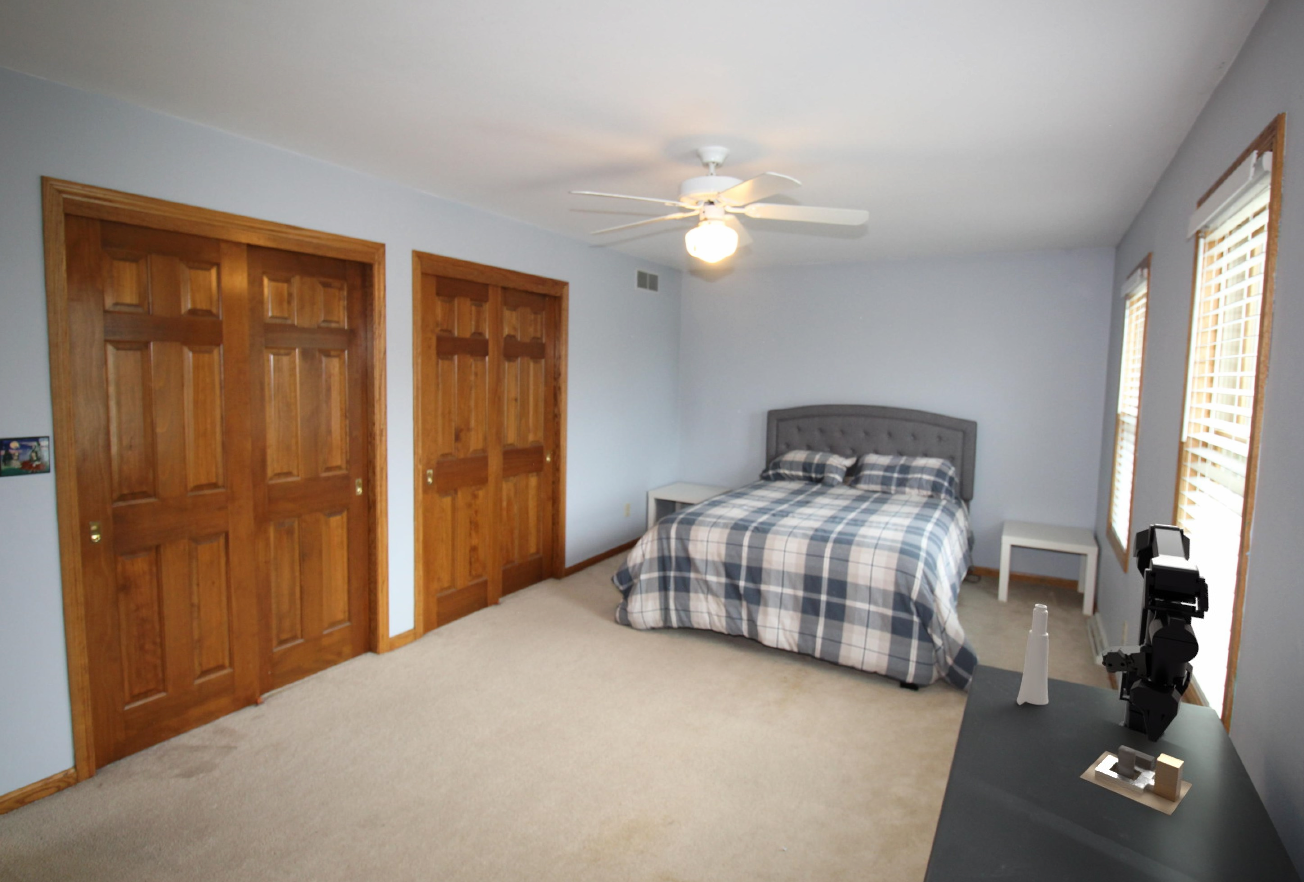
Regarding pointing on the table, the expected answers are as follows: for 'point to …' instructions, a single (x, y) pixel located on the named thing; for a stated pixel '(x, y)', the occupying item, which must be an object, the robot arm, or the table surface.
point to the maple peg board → (1134, 778)
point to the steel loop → (1147, 777)
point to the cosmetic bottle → (1036, 661)
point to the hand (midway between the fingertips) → (1157, 730)
